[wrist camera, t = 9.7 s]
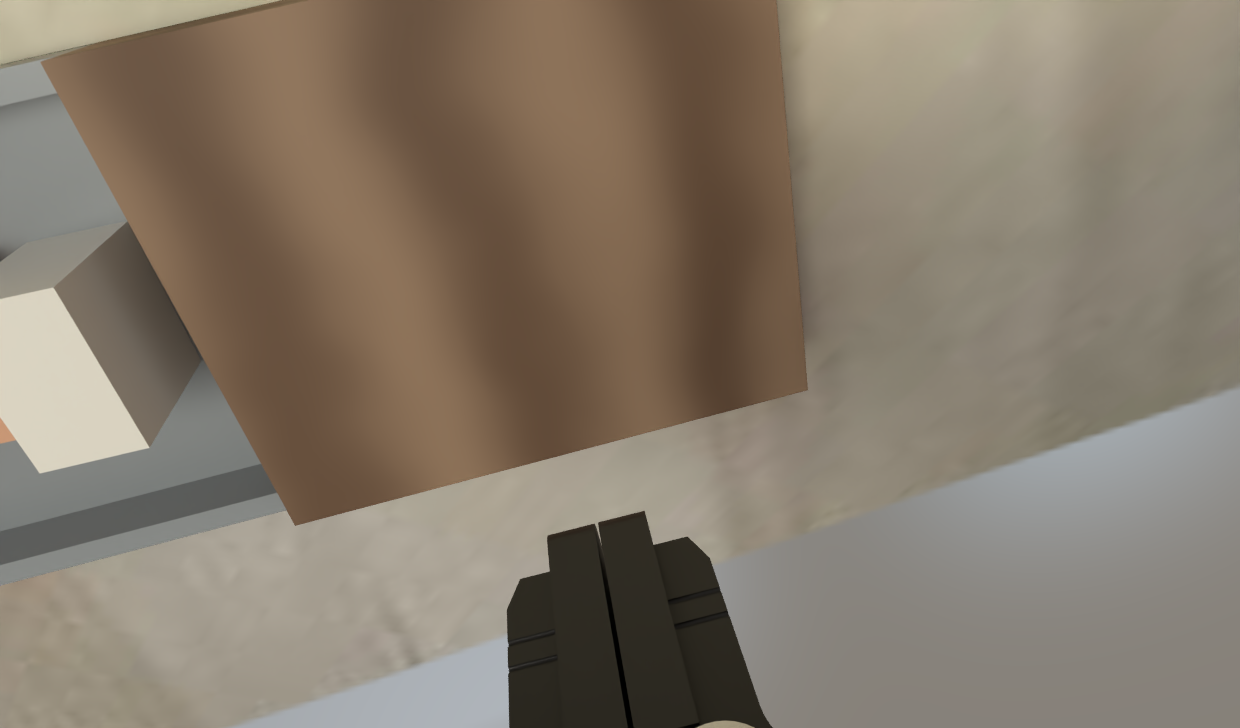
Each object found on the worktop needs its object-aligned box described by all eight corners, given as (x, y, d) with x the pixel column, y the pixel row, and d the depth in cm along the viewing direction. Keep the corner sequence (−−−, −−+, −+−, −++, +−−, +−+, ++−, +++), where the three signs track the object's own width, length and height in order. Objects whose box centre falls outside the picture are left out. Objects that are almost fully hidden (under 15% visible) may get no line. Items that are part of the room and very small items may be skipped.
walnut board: (726, -102, 22) (767, -105, 19) (773, 343, 30) (807, 390, 27) (98, 42, 21) (39, 61, 18) (312, 463, 29) (295, 525, 26)
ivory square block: (53, 287, 19) (-72, 315, 19) (149, 447, 22) (39, 473, 22) (128, 220, 23) (26, 242, 23) (201, 361, 26) (109, 382, 26)
